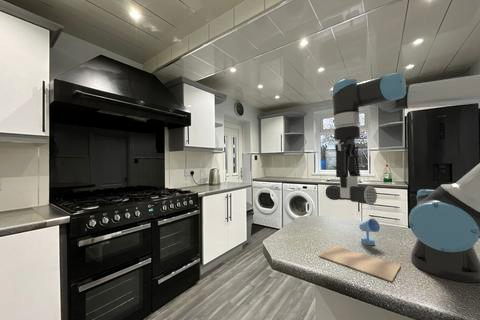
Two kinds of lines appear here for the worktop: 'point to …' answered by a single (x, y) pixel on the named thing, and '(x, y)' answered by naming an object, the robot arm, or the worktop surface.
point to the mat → (362, 263)
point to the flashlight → (354, 194)
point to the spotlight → (369, 230)
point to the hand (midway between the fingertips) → (349, 196)
